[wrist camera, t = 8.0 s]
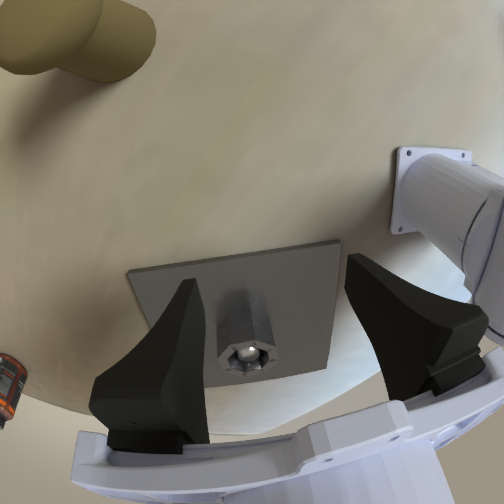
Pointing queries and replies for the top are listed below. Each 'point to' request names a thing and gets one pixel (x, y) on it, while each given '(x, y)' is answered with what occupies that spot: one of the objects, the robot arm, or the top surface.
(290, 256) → the stand
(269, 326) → the ring
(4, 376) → the supplement bottle
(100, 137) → the top surface
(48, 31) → the cork
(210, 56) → the top surface
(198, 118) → the top surface
